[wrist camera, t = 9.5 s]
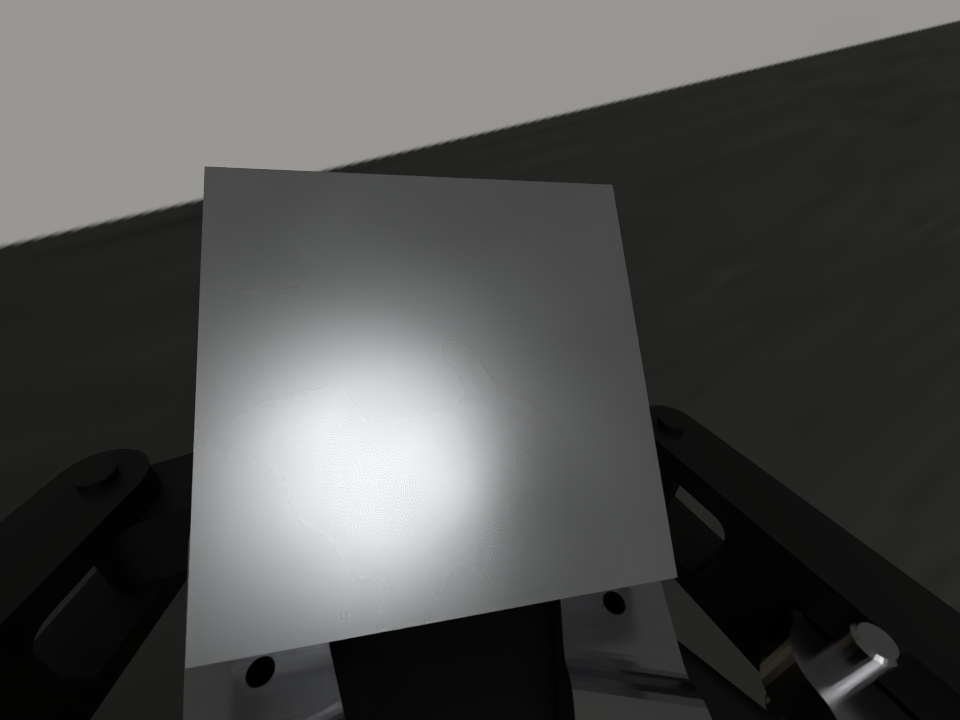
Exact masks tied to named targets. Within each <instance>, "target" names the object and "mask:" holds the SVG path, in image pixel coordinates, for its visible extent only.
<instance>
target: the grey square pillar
mask: <svg viewBox="0 0 960 720" xmlns="http://www.w3.org/2000/svg"><path fill="white" fill-rule="evenodd" d="M672 578H677V572H676V566H675V559H674V553H673V547H672V541H671V535H670V529H669V523H668V517H667V511H666V505H665V499H664V493H663V487H662V481H661V475H660V469H659V463H658V457H657V451H656V445H655V439H654V433H653V427H652V421H651V415H650V409H649V403H648V397H647V391H646V385H645V379H644V373H643V367H642V361H641V355H640V349H639V343H638V337H637V331H636V325H635V318H634V312H633V306H632V300H631V294H630V288H629V282H628V276H627V270H626V264H625V258H624V252H623V246H622V240H621V234H620V228H619V222H618V216H617V210H616V204H615V198H614V192H613V186H612V185H600V184H578V183H556V182H534V181H512V180H490V179H468V178H446V177H424V176H402V175H379V174H357V173H335V172H313V171H291V170H269V169H246V168H225V167H205V176H204V200H203V226H202V251H201V277H200V302H199V328H198V353H197V378H196V404H195V429H194V455H193V480H192V506H191V531H190V557H189V582H188V608H187V633H186V658H185V669H186V668H192V667H197V666H202V665H208V664H213V663H219V662H224V661H229V660H235V659H240V658H246V657H251V656H256V655H262V654H267V653H273V652H278V651H283V650H289V649H294V648H299V647H305V646H310V645H316V644H321V643H326V642H332V641H337V640H343V639H348V638H353V637H359V636H364V635H370V634H375V633H380V632H386V631H391V630H397V629H402V628H407V627H413V626H418V625H424V624H429V623H434V622H440V621H445V620H451V619H456V618H461V617H467V616H472V615H478V614H483V613H488V612H494V611H499V610H505V609H510V608H515V607H521V606H526V605H531V604H537V603H542V602H548V601H553V600H558V599H564V598H569V597H575V596H580V595H585V594H591V593H596V592H602V591H607V590H612V589H618V588H623V587H629V586H634V585H639V584H645V583H650V582H656V581H661V580H666V579H672Z"/></svg>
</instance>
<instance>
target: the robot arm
mask: <svg viewBox="0 0 960 720" xmlns="http://www.w3.org/2000/svg"><path fill="white" fill-rule="evenodd" d="M649 409H650V415H651V421H652V427H653V433H654V439H655V445H656V451H657V457H658V463H659V469H660V475H661V481H662V487H663V493H664V499H665V505H666V511H667V517H668V523H669V529H670V535H671V541H672V547H673V553H674V559H675V566H676V572H677V578H674V579H675V580H676V581H677V582H678V583H679V584H680V585H681V586H682V587H683V589H684V590H685V591H686V592H687V593H688V594H689V595H690V596H691V597H692V598H693V600H694V601H695V602H696V603H697V604H698V605H699V606H700V607H701V608H702V609H703V611H704V612H705V613H706V614H707V615H708V616H709V617H710V618H711V619H712V620H713V622H714V623H715V624H716V625H717V626H718V627H719V628H720V629H721V630H722V631H723V633H724V634H725V635H726V636H727V637H728V638H729V639H730V640H731V641H732V642H733V644H734V645H735V646H736V647H737V648H738V649H739V650H740V651H741V652H742V653H743V655H744V656H745V657H746V658H747V659H748V660H749V661H750V662H751V663H752V665H753V666H754V667H755V668H756V669H757V670H758V671H759V672H760V675H761V680H762V683H763V685H764V688H765V690H766V692H767V694H766V695H765V706H766V709H767V711H766V710H765V709H764V708H763V707H761V706H760V705H759V704H758V703H756V702H755V701H754V700H753V699H751V698H750V697H749V696H747V695H746V694H745V693H744V692H742V691H741V690H740V689H739V688H737V687H736V686H735V685H733V684H732V683H731V682H730V681H728V680H727V679H726V678H725V677H723V676H722V675H721V674H719V673H718V672H717V671H716V670H714V669H713V668H712V667H711V666H709V665H708V664H707V663H706V662H704V661H703V660H702V659H700V658H699V657H698V656H697V655H695V654H694V653H693V652H692V651H690V650H689V649H688V648H686V647H685V646H684V645H683V644H681V643H680V642H679V641H678V640H677V639H676V635H675V632H674V628H673V624H672V621H671V617H670V614H669V610H668V606H667V603H666V599H665V596H664V592H663V588H662V585H661V581H656V582H650V583H645V584H639V585H634V586H629V587H623V588H618V589H612V590H607V591H602V592H596V593H591V594H585V595H580V596H575V597H569V598H564V599H558V600H553V601H548V602H542V603H537V604H531V605H526V606H521V607H515V608H510V609H505V610H499V611H494V612H488V613H483V614H478V615H472V616H467V617H461V618H456V619H451V620H445V621H440V622H434V623H429V624H424V625H418V626H413V627H407V628H402V629H397V630H391V631H386V632H380V633H375V634H370V635H364V636H359V637H353V638H348V639H343V640H337V641H332V642H326V643H321V644H316V645H310V646H305V647H299V648H294V649H289V650H283V651H278V652H273V653H267V654H262V655H256V656H251V657H246V658H240V659H235V660H229V661H224V662H219V663H213V664H208V665H202V666H197V667H192V668H186V669H185V670H184V703H183V720H960V613H959V612H957V611H956V610H954V609H953V608H952V607H950V606H949V605H948V604H946V603H945V602H943V601H942V600H941V599H939V598H938V597H937V596H935V595H934V594H933V593H931V592H930V591H928V590H927V589H926V588H924V587H923V586H922V585H920V584H919V583H917V582H916V581H915V580H913V579H912V578H911V577H909V576H908V575H906V574H905V573H904V572H902V571H901V570H900V569H898V568H897V567H895V566H894V565H893V564H891V563H890V562H889V561H887V560H886V559H884V558H883V557H882V556H880V555H879V554H878V553H876V552H875V551H874V550H872V549H871V548H869V547H868V546H867V545H865V544H864V543H863V542H861V541H860V540H858V539H857V538H856V537H854V536H853V535H852V534H850V533H849V532H847V531H846V530H845V529H843V528H842V527H841V526H839V525H838V524H836V523H835V522H834V521H832V520H831V519H830V518H828V517H827V516H826V515H824V514H823V513H821V512H820V511H819V510H817V509H816V508H815V507H813V506H812V505H810V504H809V503H808V502H806V501H805V500H804V499H802V498H801V497H799V496H798V495H797V494H795V493H794V492H793V491H791V490H790V489H788V488H787V487H786V486H784V485H783V484H782V483H780V482H779V481H777V480H776V479H775V478H773V477H772V476H771V475H769V474H768V473H767V472H765V471H764V470H762V469H761V468H760V467H758V466H757V465H756V464H754V463H753V462H751V461H750V460H749V459H747V458H746V457H745V456H743V455H742V454H740V453H739V452H738V451H736V450H735V449H734V448H732V447H731V446H729V445H728V444H727V443H725V442H724V441H723V440H721V439H720V438H719V437H717V436H716V435H714V434H713V433H712V432H710V431H709V430H708V429H706V428H705V427H703V426H702V425H701V424H699V423H698V422H697V421H695V420H694V419H692V418H691V417H690V416H688V415H687V414H685V413H683V412H681V411H679V410H676V409H674V408H670V407H666V406H656V405H655V406H649ZM193 455H194V452H193V453H190V454H187V455H184V456H180V457H177V458H174V459H170V460H167V461H163V462H160V463H156V464H153V465H151V463H150V461H149V459H148V458H147V456H146V455H145V454H144V453H142V452H140V451H137V450H133V449H117V450H111V451H106V452H102V453H99V454H96V455H93V456H90V457H88V458H85V459H83V460H81V461H79V462H77V463H75V464H73V465H72V466H70V467H69V468H67V469H65V470H64V471H63V472H61V473H60V474H59V475H58V476H56V477H55V478H54V479H53V480H51V481H50V482H49V483H48V484H47V485H45V486H44V487H43V488H42V489H41V490H39V491H38V492H37V493H36V494H34V495H33V496H32V497H31V498H30V499H28V500H27V501H26V502H25V503H23V504H22V505H21V506H20V507H19V508H17V509H16V510H15V511H14V512H13V513H11V514H10V515H9V516H8V517H6V518H5V519H4V520H3V521H2V522H0V720H90V719H91V717H92V716H93V714H94V713H95V712H96V710H97V709H98V707H99V706H100V704H101V703H102V701H103V700H104V698H105V697H106V696H107V694H108V693H109V691H110V690H111V688H112V687H113V685H114V684H115V682H116V681H117V680H118V678H119V677H120V675H121V674H122V672H123V671H124V669H125V668H126V667H127V665H128V664H129V662H130V661H131V659H132V658H133V656H134V655H135V653H136V652H137V651H138V649H139V648H140V646H141V645H142V643H143V642H144V640H145V639H146V638H147V636H148V635H149V633H150V632H151V630H152V629H153V627H154V626H155V624H156V623H157V622H158V620H159V619H160V617H161V616H162V614H163V613H164V611H165V610H166V609H167V607H168V606H169V604H170V603H171V601H172V600H173V598H174V597H175V595H176V594H177V593H178V591H179V590H180V588H181V587H182V585H183V584H184V582H185V581H186V580H187V604H186V633H187V608H188V582H189V557H190V531H191V506H192V480H193ZM679 486H681V487H683V488H684V489H685V490H686V491H687V492H688V493H689V494H690V495H692V496H693V497H694V498H695V499H696V500H697V501H698V502H699V503H701V504H702V505H703V506H704V507H705V508H706V509H707V510H708V511H710V512H711V513H712V514H713V515H714V516H715V517H716V518H717V519H718V520H719V522H720V523H721V525H722V527H723V529H724V532H725V540H724V541H723V540H722V539H721V538H720V537H719V536H718V535H717V534H715V533H714V532H713V531H712V530H711V529H710V528H709V527H708V526H707V525H706V524H705V523H704V522H702V521H701V520H700V519H699V518H698V517H697V516H696V515H695V514H694V513H693V512H692V511H691V510H689V509H688V508H687V507H686V506H685V505H684V504H683V503H682V502H681V501H680V500H679V499H678V498H677V497H675V496H674V495H675V493H676V492H677V490H678V488H679ZM93 566H95V567H96V569H97V571H96V572H95V574H94V575H93V576H92V577H91V578H90V579H89V580H88V581H87V583H86V584H85V585H84V586H83V587H82V588H81V589H80V590H79V592H78V593H77V594H76V595H75V596H74V597H73V598H72V599H71V600H70V602H69V603H68V604H67V605H66V606H65V607H64V608H63V609H62V611H61V612H60V613H59V614H58V615H57V616H56V617H55V618H54V620H53V621H52V622H51V623H50V624H49V625H48V626H47V627H46V629H45V630H44V631H43V632H42V633H41V634H40V635H39V636H38V638H37V639H36V640H35V641H34V639H35V636H36V634H37V632H38V630H39V628H40V626H41V625H42V623H43V622H44V620H45V619H46V618H47V617H48V616H49V614H50V613H51V612H52V611H53V610H54V609H55V608H56V607H57V606H58V605H59V603H60V602H61V601H62V600H63V599H64V598H65V597H66V596H67V595H68V594H69V592H70V591H71V590H72V589H73V588H74V587H75V586H76V585H77V584H78V582H79V581H80V580H81V579H82V578H83V577H84V576H85V575H86V574H87V573H88V571H89V570H90V569H91V568H92V567H93ZM185 658H186V637H185Z"/></svg>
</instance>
